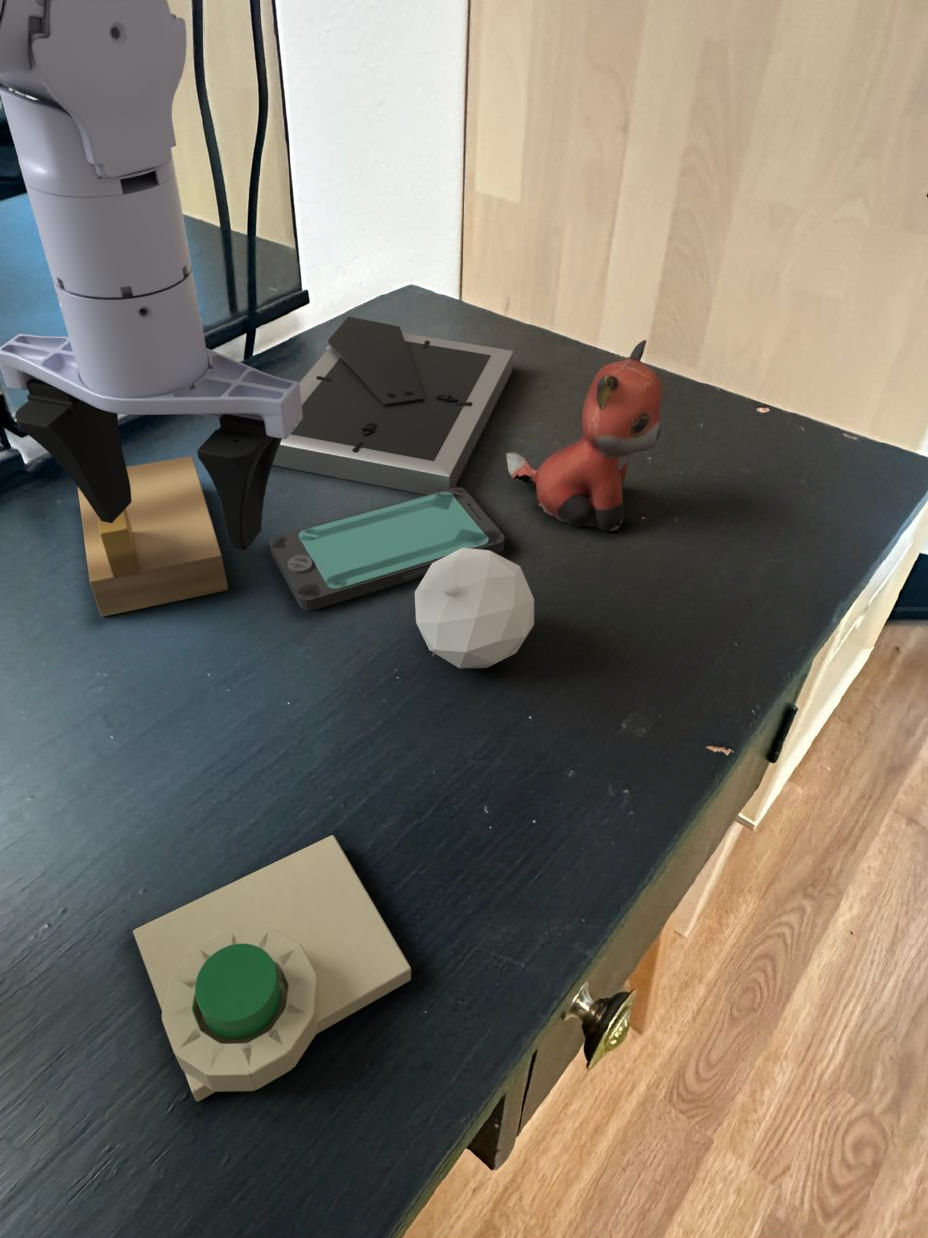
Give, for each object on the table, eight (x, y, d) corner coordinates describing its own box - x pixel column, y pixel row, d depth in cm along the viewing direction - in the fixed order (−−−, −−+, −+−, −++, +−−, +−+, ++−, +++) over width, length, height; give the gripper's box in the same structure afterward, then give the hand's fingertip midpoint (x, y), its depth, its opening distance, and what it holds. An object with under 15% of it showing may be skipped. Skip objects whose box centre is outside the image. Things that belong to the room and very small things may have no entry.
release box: (206, 1133, 36) (193, 1107, 33) (136, 942, 41) (121, 910, 39) (425, 1004, 40) (426, 973, 38) (334, 847, 45) (330, 812, 43)
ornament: (554, 670, 54) (516, 639, 47) (442, 685, 57) (389, 657, 50) (546, 562, 57) (508, 517, 49) (438, 580, 59) (386, 540, 52)
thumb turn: (140, 573, 55) (127, 525, 53) (113, 579, 55) (98, 530, 52) (132, 530, 58) (119, 483, 56) (106, 535, 58) (92, 487, 55)
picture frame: (349, 344, 84) (255, 462, 70) (348, 316, 82) (250, 430, 68) (511, 371, 82) (448, 499, 67) (514, 342, 80) (449, 467, 65)
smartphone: (266, 535, 61) (461, 482, 66) (268, 550, 62) (461, 496, 67) (302, 601, 57) (509, 539, 62) (304, 616, 57) (508, 553, 63)
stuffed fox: (517, 454, 72) (530, 311, 64) (653, 490, 69) (686, 344, 61) (483, 505, 67) (492, 356, 58) (628, 545, 64) (660, 395, 56)
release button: (218, 1055, 35) (211, 1038, 34) (191, 986, 37) (183, 967, 36) (293, 1013, 36) (289, 995, 35) (263, 949, 38) (258, 929, 37)
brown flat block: (228, 590, 59) (221, 555, 57) (101, 617, 57) (89, 581, 54) (199, 489, 67) (192, 455, 65) (86, 509, 65) (75, 474, 62)
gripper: (317, 259, 40) (336, 507, 49) (29, 217, 42) (100, 460, 52) (249, 327, 35) (284, 588, 44) (-73, 274, 37) (25, 532, 47)
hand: (181, 525), depth 47 cm, fingers open, 7 cm apart
